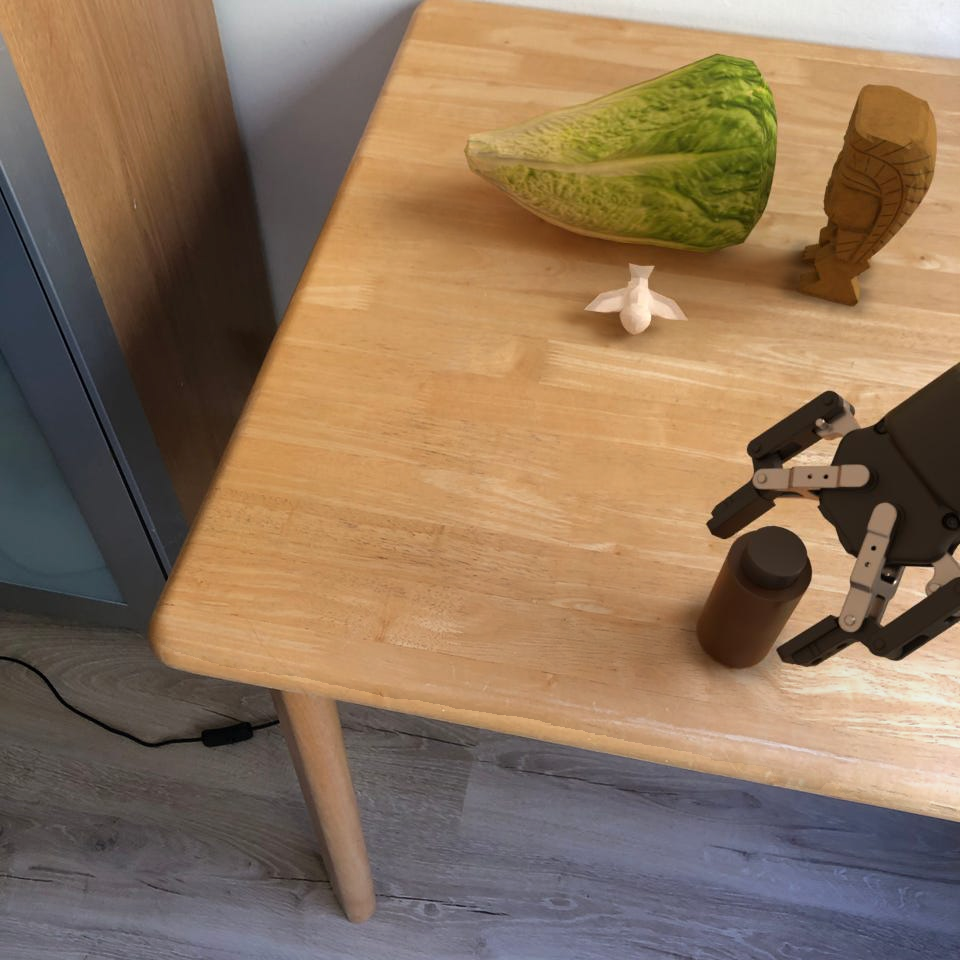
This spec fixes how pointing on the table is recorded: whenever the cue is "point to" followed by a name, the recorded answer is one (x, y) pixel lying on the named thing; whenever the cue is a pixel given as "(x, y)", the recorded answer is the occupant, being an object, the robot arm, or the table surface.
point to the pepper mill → (754, 596)
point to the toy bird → (637, 302)
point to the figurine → (871, 188)
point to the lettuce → (646, 159)
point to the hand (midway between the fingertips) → (748, 592)
